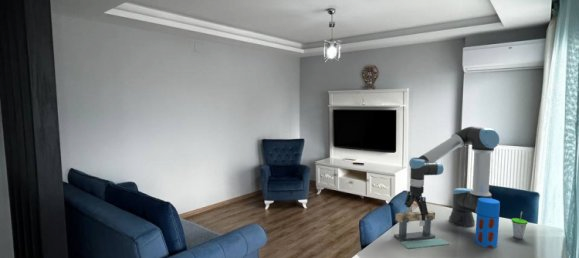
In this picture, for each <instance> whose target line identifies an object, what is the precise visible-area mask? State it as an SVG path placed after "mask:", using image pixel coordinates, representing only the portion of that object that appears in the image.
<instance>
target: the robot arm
mask: <svg viewBox="0 0 579 258" xmlns="http://www.w3.org/2000/svg"><path fill="white" fill-rule="evenodd" d="M499 144H500V136H499V134H498V132H497V131H496V130H495V129H493V128H490V127H479V126H467V127H464V128H462V129H459V130H458V131H456V132H455V133H453V134H452V135H451V137H450V138H448V139H446V140H445V141H443V142H441V143H440V144H438V145H436V146H435V147H433V148H431V149H430V150H429V151H427V152H425V153H424V154H422V155H420V156H418V157H411V158H410V160H409V163H408V164H409V165H408V166H409V167H410V174H409V175H410V176H409V179H410V180H409V182H410V183H409V184H410V185H409V190H408V191H407V195H406V198H405V201H404V206H405V207H406V213H409V212H413V211H412V207H413V206H412V205H413V204H414V202H416V205H417V207H418V209H419V212H421V214H420V221H419V226H420V227H423V226H425V215H428V211H429V210H428V205H427V202H426V201H427V200H426V199H427V198H426V196H423V194H424V190H425V189H424V188H425V187H424V186H425V176H439V175H441V174H443V172H444V165H443V164H442V162H439V160H441V159H442V158H444V157H446V156H447V155H448V154H450V153H451V152H454V151H455V150H456V149H458V148H463V147H465V146H469V145H471V150H472V151H473V152H474V154H473V155H474V156H473V157H474V158H473V176H472V188H467V187H466V188H465V187H458V188H454V189H453V193H452V208H451V209H452V210H451V212H450V215H449V217H448V221H449V223H451V224H453V225H456V226H459V227H465V228H467V227H468V228H469V227H474V226H476V220H475V219H474V214H476V215H477V202H478V198H490V199H492V193H491V192H490V191H489V190H490V174H491V173H490V172H491V171H490V170H491V158H492V157H491V153H493V152H494V151H495V148H496V147H498V145H499ZM473 213H474V214H473Z"/></svg>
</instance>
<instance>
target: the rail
mask: <svg viewBox="0 0 579 258" xmlns="http://www.w3.org/2000/svg"><path fill="white" fill-rule="evenodd" d="M420 214H421V212H420V211H412V212H409V213H407V212H398V213H397V212H396V213H395V219H394V220H395V221H396V222H398V223H399V222H403V218H409V222H420ZM427 216H433V220H436V212H435V211H433V210H428V215H425V220H427Z"/></svg>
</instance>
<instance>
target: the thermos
mask: <svg viewBox="0 0 579 258" xmlns="http://www.w3.org/2000/svg"><path fill="white" fill-rule="evenodd" d="M500 210H501V202H500V201H499V200H498V199H494V198H491V199H490V198H478V202H477V214H476V220H475V243H476V244H477V245H479V246H480V247H481V246H482V247H484V248H496V247H497V246H498V241H499V225H500V224H499V223H500Z"/></svg>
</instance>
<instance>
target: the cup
mask: <svg viewBox="0 0 579 258" xmlns="http://www.w3.org/2000/svg"><path fill="white" fill-rule="evenodd" d="M522 215H523V211H521V212H520V217H519V218H516V217H513V218H511V222H512V234H513V238H515V239H519V240H522V239H524V235H525V231H526V228H527V225H528V221H527V220H525V219H522Z"/></svg>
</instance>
